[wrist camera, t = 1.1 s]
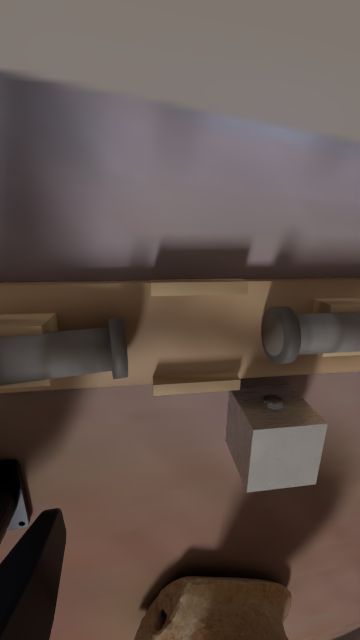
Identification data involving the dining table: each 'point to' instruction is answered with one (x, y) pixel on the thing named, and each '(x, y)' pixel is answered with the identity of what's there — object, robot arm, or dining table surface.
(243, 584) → the stone cup
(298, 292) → the shaft bench
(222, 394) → the dining table surface
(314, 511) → the dining table surface
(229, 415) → the block
